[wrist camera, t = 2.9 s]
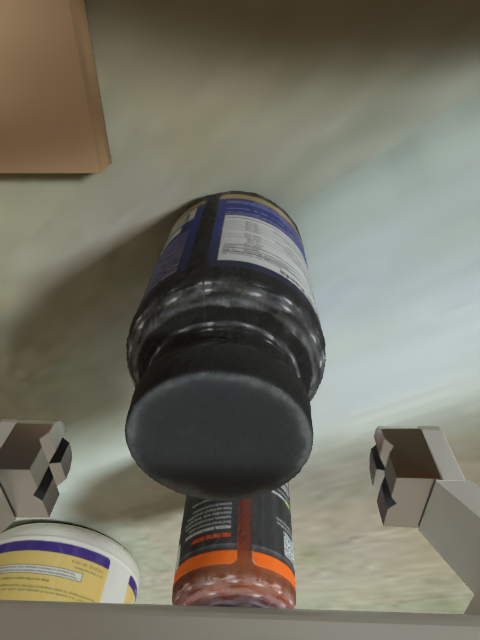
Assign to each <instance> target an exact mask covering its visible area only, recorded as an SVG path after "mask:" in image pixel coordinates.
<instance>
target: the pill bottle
mask: <svg viewBox="0 0 480 640" xmlns="http://www.w3.org/2000/svg"><path fill="white" fill-rule="evenodd" d="M126 346H127V352H126V353H127V362H128V369H129V373H130V375H131V378H132V381H133V384H134V385H135V391H134V394H133V397H132V401H131V405H130V408H129V411H128V415H127V419H126V425H125V436H126V442H127V445H128V448H129V450H130V453H131V456H132V457H133V459H134V460H135V461H136V463H137V465H138V466H139V467H140V468H141V469H142V470H143V471H144V472H145V473H146V474H148V475H149V477H151V478H153V479H154V480H155V481H157V482H159V483H160V484H161V485H164V486H166V487H168V488H169V489H172V490H174V491H176V492H179V493H182V494H185V495H188V496H190V497H197V498H201V499H208V500H238V499H249V498H252V497H254V496H258V495H262V494H265V493H268V492H271V491H273V490H275V489H277V488H279V487H281V486H283V485H284V484H286V483H287V482H289V481H290V480H291V479H292V478H294V477H295V476H296V475H297V474H298V473H299V472H300V471H301V469H302V467H303V465H304V464H305V463H306V462H307V460H308V458H309V456H310V453H311V450H312V445H313V427H312V419H311V406H310V401H311V400H312V399H313V397H314V395H315V394H316V391H317V389H318V387H319V385H320V383H321V380H322V378H323V373H324V367H325V361H326V359H325V354H326V353H325V340H324V336H323V333H322V330H321V325H320V321H319V316H318V312H317V308H316V303H315V299H314V294H313V290H312V285H311V280H310V275H309V271H308V266H307V262H306V258H305V253H304V248H303V244H302V240H301V237H300V234H299V231H298V229H297V226H296V224H295V223H294V222H293V221H292V219H291V218H290V217H289V215H288V214H287V213H286V212H285V211H284V210H283V209H282V208H281V207H279V206H278V205H277V204H275V203H274V202H272V201H270V200H268V199H266V198H265V197H263V196H260V195H258V194H256V193H250V192H242V191H230V192H225V193H218V194H215V195H210V196H206V197H204V198H202V199H200V200H198V201H197V202H195V203H194V204H193V205H191V206H189V207H188V208H187V209H186V210H185V211H184V212H183V213H182V214H181V215H180V216H179V218H178V219H177V221H176V222H175V224H174V226H173V228H172V230H171V232H170V234H169V236H168V239H167V241H166V244H165V246H164V248H163V250H162V252H161V255H160V258H159V260H158V262H157V265H156V267H155V269H154V272H153V274H152V277H151V279H150V281H149V284H148V287H147V289H146V292H145V294H144V296H143V299H142V301H141V303H140V306H139V308H138V310H137V313H136V314H135V316H134V318H133V321H132V324H131V327H130V331H129V336H128V338H127V344H126Z"/></svg>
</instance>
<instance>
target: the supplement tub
mask: <svg viewBox="0 0 480 640" xmlns="http://www.w3.org/2000/svg"><path fill="white" fill-rule="evenodd" d="M138 588H139V571H138V567H137V565H136V563H135V561H134V559H133V558H132V556H131V555H130V554H129V553H128V552H127V551H126V550H125V549H124V548H123V547H122V546H121V545H119V544H118V543H117V542H115V541H114V540H112V539H110V538H109V537H107V536H105V535H102V534H100V533H98V532H95V531H92V530H89V529H86V528H82V527H79V526H73V525H67V524H59V523H31V524H25V525H21V526H17V527H14V528H11V529H9V530H7V531H5V532H3V533H1V534H0V600H29V601H60V602H91V603H123V604H135V601H136V596H137V592H138Z"/></svg>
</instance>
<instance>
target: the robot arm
mask: <svg viewBox="0 0 480 640" xmlns="http://www.w3.org/2000/svg"><path fill="white" fill-rule="evenodd" d="M64 433H65V428H64V426H63V423H62V422H60V421H50V420H27V419H21V420H20V419H2V420H0V534H1V533H2V532H3V531H4V530H5V529H6V528H7V527H8V526H9V525H10V524H12V523H13V522H14V521H15V520H16V518H15V517H50V514H51V512H52V510H53V507H54V505H55V503H56V501H57V498H58V496H59V492H58V489H57V486H58V485H59V484H60V483H61V482H63V481H64V480H65V479H66V478H67V475H68V473H69V470H70V466H71V460H72V452H71V447H70V443H69V442H68V441H66V440H65V439H64V438H63V435H64ZM374 438H375V442H376V445H375V446H374V447H373V448H372V449H371V453H370V475H371V480H372V484H373V486H374V487H375V488H376V489H377V490H378V491H379V495H378V499H377V504H378V507H379V511H380V515H381V519H382V523H383V526H394V527H413V528H419V529H418V530H419V531H420V532H421V533H422V534H423V535H424V537H425V538H426V539H427V540H428V541H429V542H430V544H431V545H432V546H433V547H434V548H435V549H436V550H437V552H438V553H439V554H440V555H441V556H442V557H443V559H444V560H445V561H446V562H447V563H448V564H449V565H450V567H451V568H452V569H453V570H454V571H455V572H456V574H457V575H458V576H459V577H460V578H461V579H462V580H463V582H464V583H465V584H466V585H467V586H468V587H469V589H470V590H471V591H472V592H473V593H474V594H475V595H474V597H473V599H472V600H471V602H470V604H469V606H468V608H467V609H466V611H465V613H464V614H434V613H403V612H372V611H341V610H310V609H280V608H249V607H219V606H187V605H155V604H123V603H91V602H60V601H29V600H0V640H480V487H479V486H478V485H477V484H475V483H474V482H473V481H467V480H465V478H464V476H463V474H462V472H461V469H460V467H459V465H458V463H457V461H456V459H455V457H454V455H453V453H452V451H451V448H450V446H449V444H448V442H447V440H446V438H445V436H444V434H443V432H442V430H441V429H440V428H439V427H425V426H418V427H416V426H378V427H377V428H376V430H375V434H374Z"/></svg>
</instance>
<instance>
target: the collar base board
mask: <svg viewBox="0 0 480 640" xmlns="http://www.w3.org/2000/svg"><path fill="white" fill-rule="evenodd" d="M111 163H112V162H111V156H110V150H109V145H108V139H107V133H106V127H105V121H104V115H103V109H102V103H101V97H100V91H99V85H98V79H97V73H96V67H95V61H94V55H93V49H92V43H91V37H90V31H89V25H88V19H87V14H86V8H85V2H84V0H0V173H101V172H102V171H103V170H104V169H105V168H107V167H108V166H109V165H110V164H111Z"/></svg>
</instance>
